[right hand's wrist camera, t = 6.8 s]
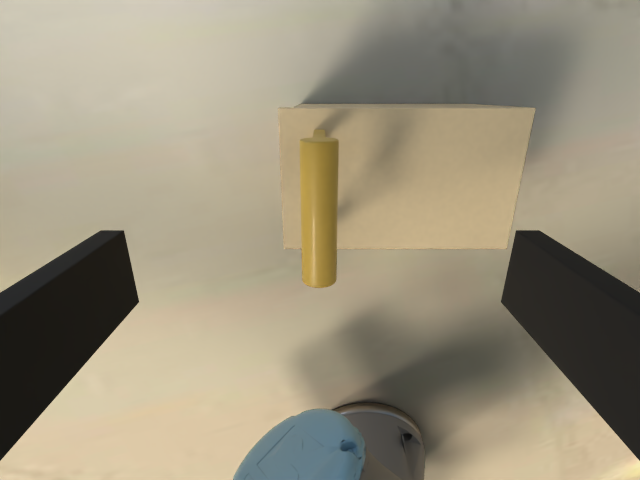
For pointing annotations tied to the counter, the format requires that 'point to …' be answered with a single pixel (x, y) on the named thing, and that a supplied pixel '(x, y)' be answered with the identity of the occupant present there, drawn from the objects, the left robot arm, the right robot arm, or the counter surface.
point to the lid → (398, 179)
